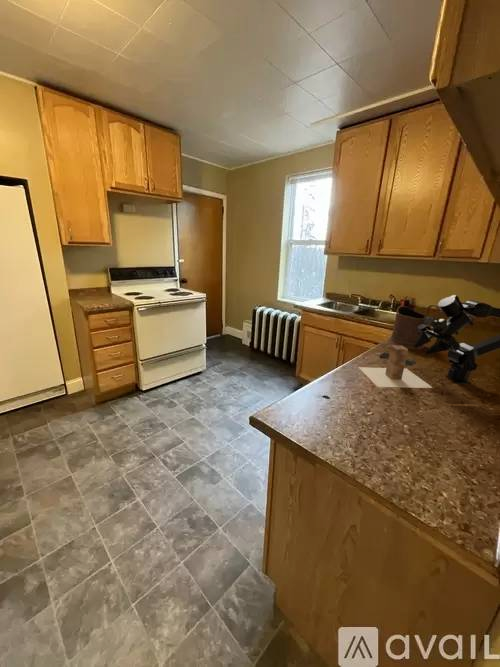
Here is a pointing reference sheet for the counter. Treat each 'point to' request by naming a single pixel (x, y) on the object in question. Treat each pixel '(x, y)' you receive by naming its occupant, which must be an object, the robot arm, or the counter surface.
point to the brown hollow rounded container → (409, 326)
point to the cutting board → (384, 381)
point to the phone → (408, 362)
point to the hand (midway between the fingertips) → (419, 350)
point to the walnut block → (396, 362)
